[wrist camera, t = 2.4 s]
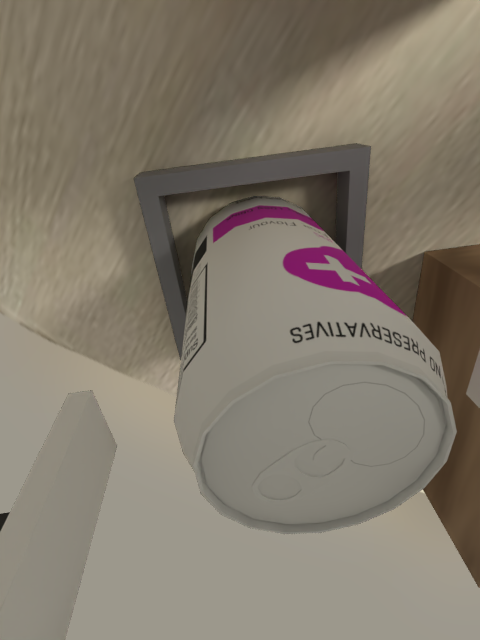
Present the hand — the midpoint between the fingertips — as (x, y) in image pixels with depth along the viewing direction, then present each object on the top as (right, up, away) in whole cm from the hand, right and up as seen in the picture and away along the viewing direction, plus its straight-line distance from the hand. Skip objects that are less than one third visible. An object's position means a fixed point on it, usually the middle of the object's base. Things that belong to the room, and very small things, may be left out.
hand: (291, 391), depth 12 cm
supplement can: (-1, +6, +10) cm, 12 cm away
